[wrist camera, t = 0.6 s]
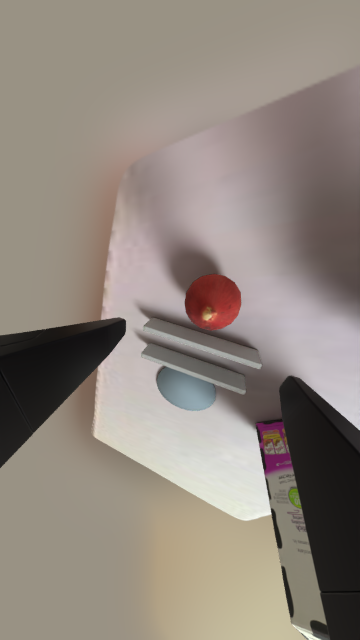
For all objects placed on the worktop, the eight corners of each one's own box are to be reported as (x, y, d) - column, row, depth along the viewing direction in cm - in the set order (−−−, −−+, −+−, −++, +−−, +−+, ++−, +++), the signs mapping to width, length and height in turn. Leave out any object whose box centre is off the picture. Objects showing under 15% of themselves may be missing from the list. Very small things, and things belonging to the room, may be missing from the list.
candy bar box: (267, 439, 27) (310, 645, 13) (254, 421, 26) (286, 623, 12) (344, 434, 22) (552, 759, 8) (332, 411, 21) (543, 735, 7)
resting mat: (224, 378, 24) (223, 380, 24) (206, 416, 29) (205, 418, 29) (161, 355, 26) (160, 357, 26) (155, 395, 31) (154, 397, 31)
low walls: (258, 350, 21) (262, 364, 18) (242, 378, 23) (244, 395, 21) (152, 317, 23) (143, 325, 21) (149, 346, 26) (140, 357, 23)
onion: (230, 319, 20) (232, 356, 13) (188, 308, 21) (170, 338, 14) (245, 275, 17) (257, 292, 10) (197, 266, 18) (178, 275, 11)
